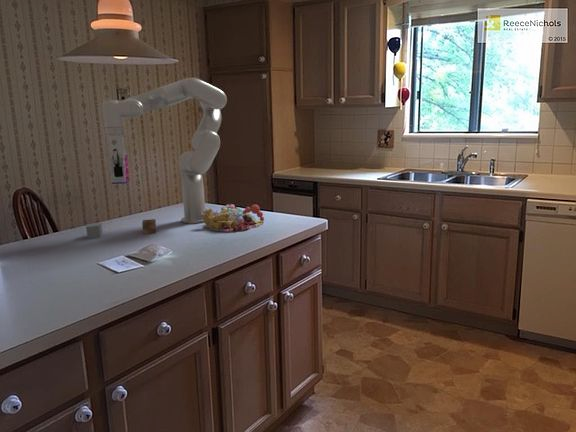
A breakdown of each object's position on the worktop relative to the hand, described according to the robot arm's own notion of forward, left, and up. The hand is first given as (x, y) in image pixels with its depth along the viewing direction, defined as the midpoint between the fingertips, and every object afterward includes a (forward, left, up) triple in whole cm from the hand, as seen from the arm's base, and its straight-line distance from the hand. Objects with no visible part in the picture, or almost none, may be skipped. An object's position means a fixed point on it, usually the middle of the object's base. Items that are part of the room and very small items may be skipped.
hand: (120, 175), depth 200 cm
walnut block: (-10, +3, -25) cm, 27 cm away
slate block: (+12, +3, -25) cm, 28 cm away
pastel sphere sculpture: (-45, +2, -25) cm, 51 cm away
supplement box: (0, 0, -3) cm, 3 cm away
